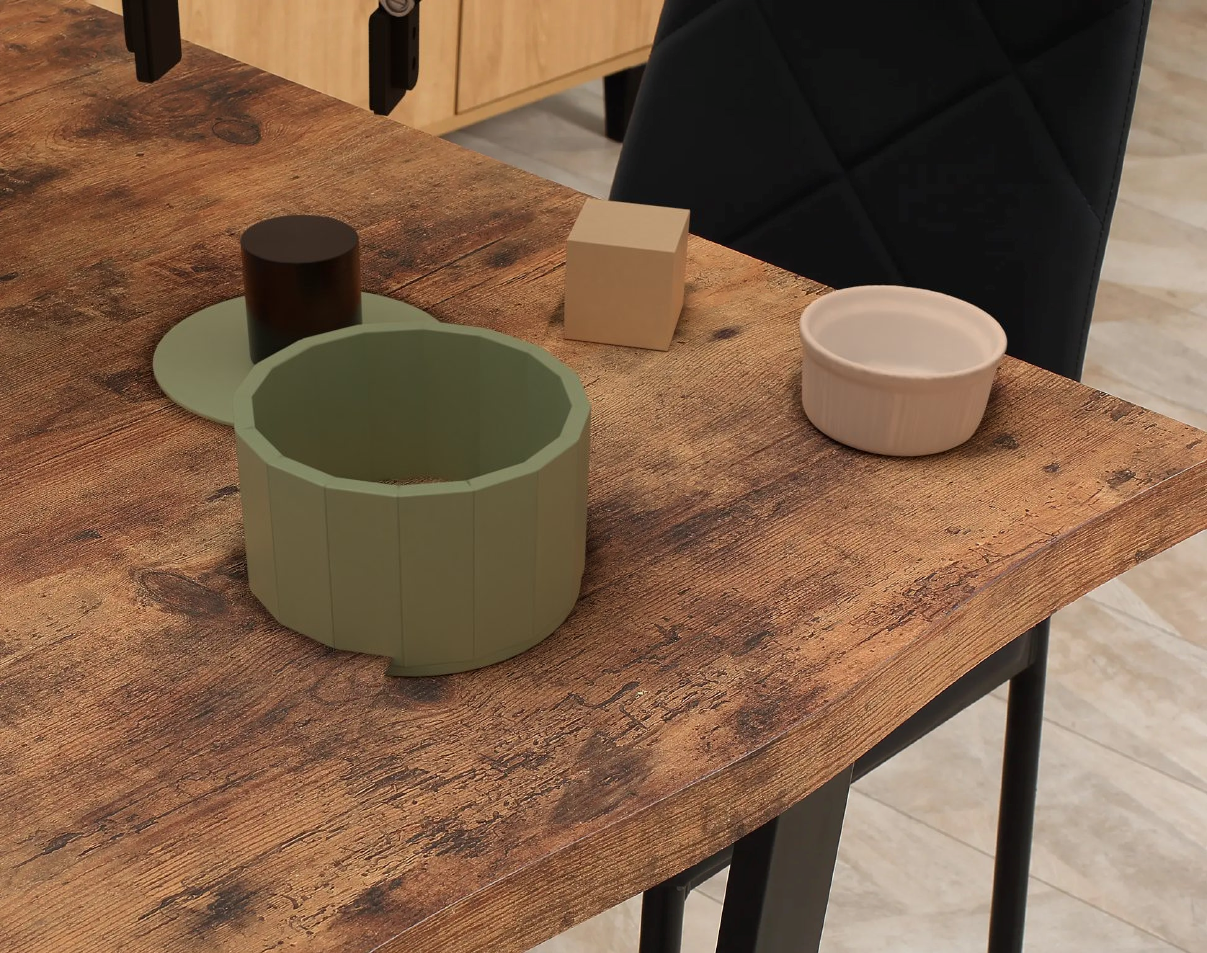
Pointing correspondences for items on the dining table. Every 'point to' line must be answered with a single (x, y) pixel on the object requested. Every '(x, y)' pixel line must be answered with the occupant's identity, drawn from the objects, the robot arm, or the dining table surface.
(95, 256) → the dining table surface
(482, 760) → the dining table surface
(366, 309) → the tin lid
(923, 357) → the ramekin
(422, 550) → the tin
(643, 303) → the tan cube
